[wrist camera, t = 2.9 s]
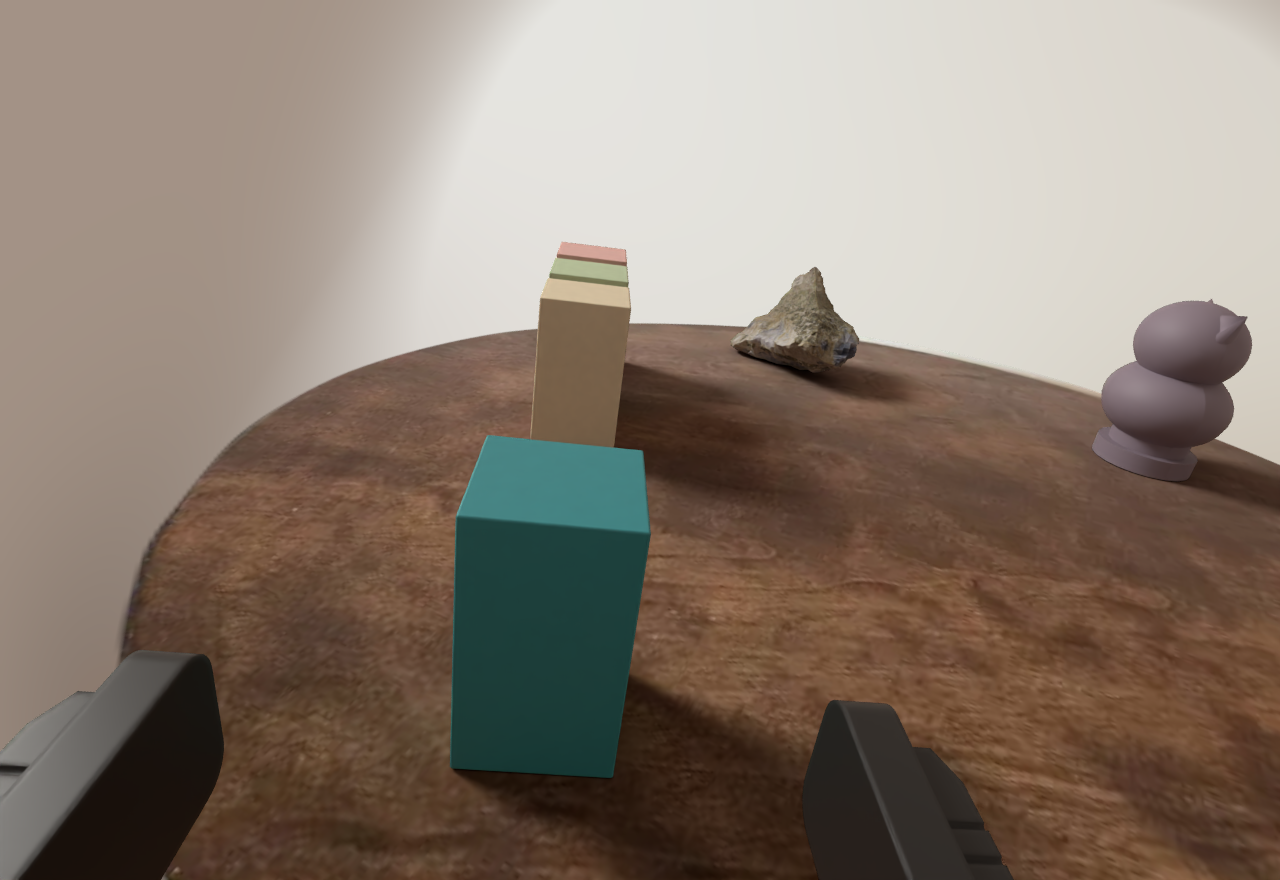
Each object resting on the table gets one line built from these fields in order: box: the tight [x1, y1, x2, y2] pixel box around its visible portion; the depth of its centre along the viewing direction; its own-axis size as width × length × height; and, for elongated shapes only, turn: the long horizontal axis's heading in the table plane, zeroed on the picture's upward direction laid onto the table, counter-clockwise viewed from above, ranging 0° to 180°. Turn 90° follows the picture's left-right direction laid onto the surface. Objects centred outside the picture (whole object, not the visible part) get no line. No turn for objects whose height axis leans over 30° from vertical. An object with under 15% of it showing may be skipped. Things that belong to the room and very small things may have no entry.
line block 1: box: [557, 242, 627, 266], centre depth 55 cm, size 5×5×9 cm
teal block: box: [450, 435, 651, 778], centre depth 22 cm, size 5×5×9 cm
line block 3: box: [530, 278, 631, 448], centre depth 43 cm, size 5×5×9 cm
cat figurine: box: [1092, 299, 1252, 481], centre depth 51 cm, size 9×8×12 cm
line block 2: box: [549, 258, 629, 287], centre depth 49 cm, size 5×5×9 cm
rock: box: [731, 267, 859, 373], centre depth 63 cm, size 11×6×10 cm
